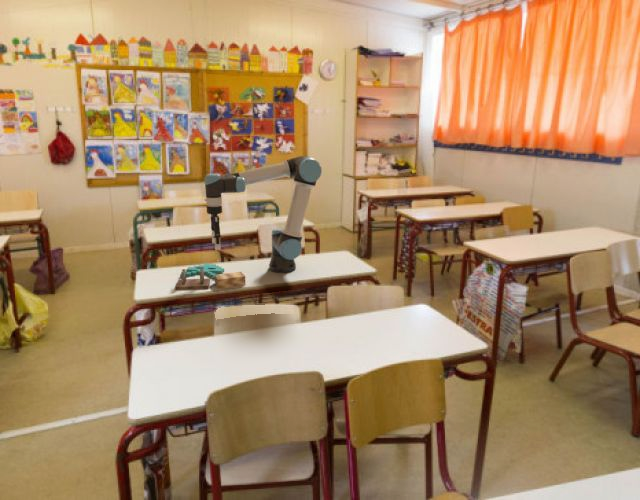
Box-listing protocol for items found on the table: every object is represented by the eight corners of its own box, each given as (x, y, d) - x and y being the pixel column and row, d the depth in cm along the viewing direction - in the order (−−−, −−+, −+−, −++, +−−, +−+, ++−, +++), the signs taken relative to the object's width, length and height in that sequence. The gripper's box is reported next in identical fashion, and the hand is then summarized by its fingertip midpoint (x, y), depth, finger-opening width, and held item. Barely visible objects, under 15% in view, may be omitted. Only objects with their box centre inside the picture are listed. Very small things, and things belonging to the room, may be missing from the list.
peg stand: (210, 281, 254) (209, 266, 252) (208, 288, 244) (207, 273, 242) (178, 282, 252) (177, 267, 250) (175, 289, 242) (174, 274, 239)
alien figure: (216, 280, 257) (227, 268, 276) (216, 276, 257) (227, 264, 276) (180, 278, 259) (193, 266, 278) (180, 274, 258) (193, 263, 278)
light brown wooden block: (241, 280, 257) (241, 271, 255) (245, 285, 250) (245, 276, 248) (215, 283, 251) (214, 274, 250) (218, 289, 244) (217, 279, 243)
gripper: (204, 201, 252) (206, 240, 258) (208, 210, 229) (211, 253, 235) (218, 200, 254) (220, 239, 260) (225, 209, 231) (227, 252, 237)
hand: (216, 246), depth 247 cm, fingers open, 13 cm apart
